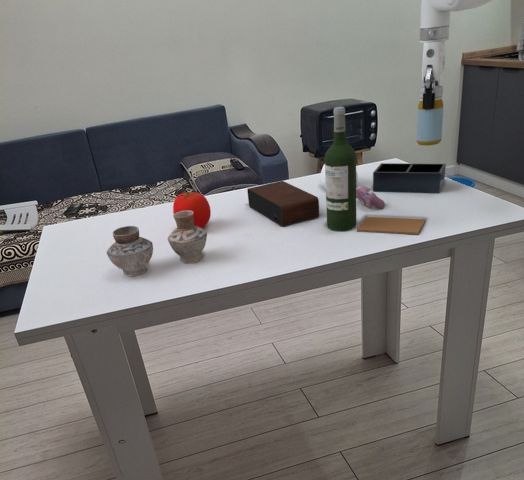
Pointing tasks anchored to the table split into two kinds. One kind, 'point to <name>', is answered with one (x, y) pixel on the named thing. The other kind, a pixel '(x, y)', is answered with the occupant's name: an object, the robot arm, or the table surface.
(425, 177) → the divided storage box
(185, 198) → the tomato
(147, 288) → the table surface
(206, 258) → the table surface
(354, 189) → the wine bottle
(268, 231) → the table surface
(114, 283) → the table surface
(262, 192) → the brown box
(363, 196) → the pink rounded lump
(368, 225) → the cork mat
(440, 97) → the bottle
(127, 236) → the pottery
